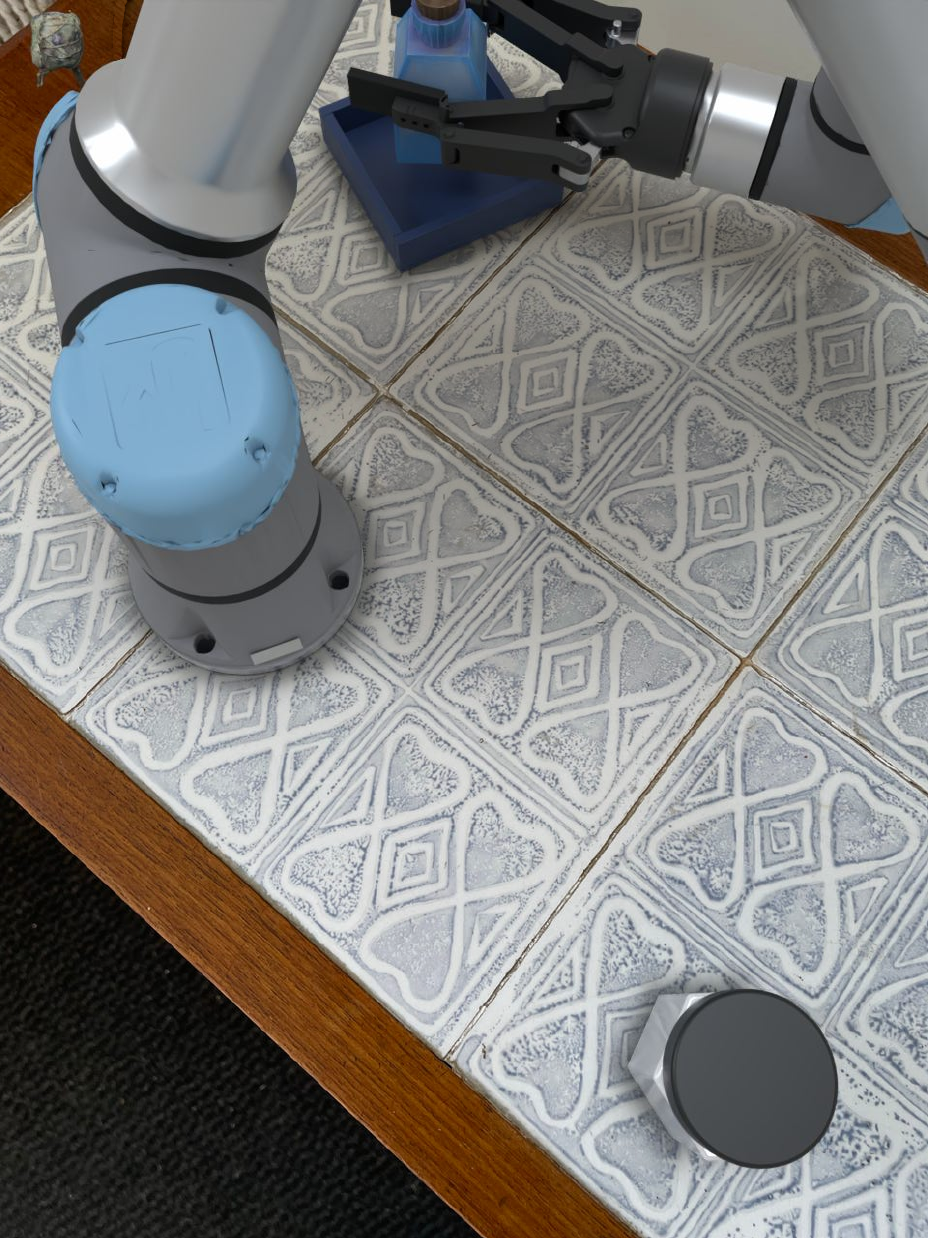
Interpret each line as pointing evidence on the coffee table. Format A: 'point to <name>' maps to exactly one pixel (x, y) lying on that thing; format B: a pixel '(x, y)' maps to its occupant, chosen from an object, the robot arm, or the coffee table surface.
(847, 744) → the coffee table surface
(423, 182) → the tray
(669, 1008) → the jar
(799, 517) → the coffee table surface
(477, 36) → the perfume bottle
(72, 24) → the plant with pod
